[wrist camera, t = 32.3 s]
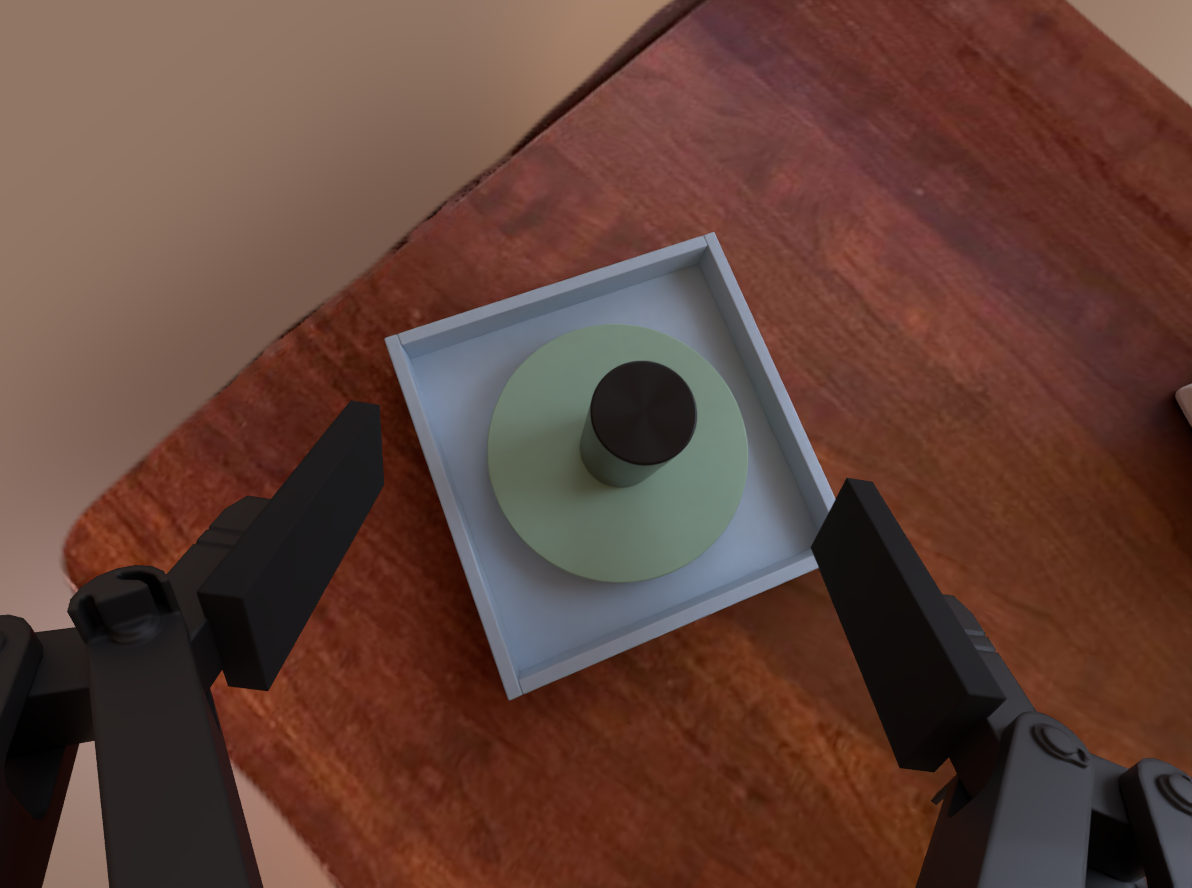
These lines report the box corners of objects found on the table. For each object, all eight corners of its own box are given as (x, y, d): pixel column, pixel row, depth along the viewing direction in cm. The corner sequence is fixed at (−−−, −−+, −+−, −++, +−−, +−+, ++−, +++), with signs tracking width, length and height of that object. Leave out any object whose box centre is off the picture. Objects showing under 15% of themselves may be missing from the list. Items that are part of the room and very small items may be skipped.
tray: (512, 687, 21) (508, 701, 19) (397, 356, 23) (383, 337, 21) (832, 550, 22) (859, 550, 21) (701, 256, 24) (714, 231, 22)
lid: (543, 622, 21) (539, 656, 14) (454, 381, 22) (414, 309, 15) (778, 524, 22) (875, 513, 15) (680, 303, 23) (731, 207, 17)
